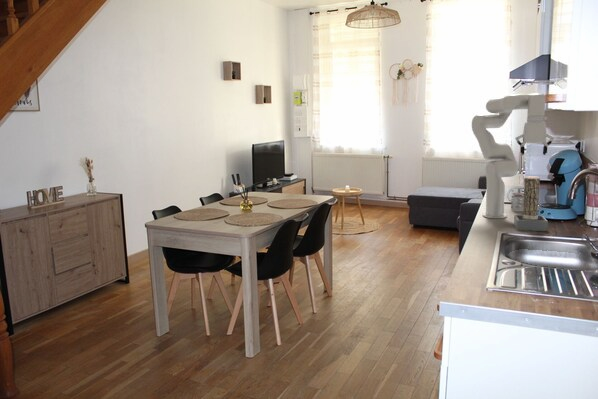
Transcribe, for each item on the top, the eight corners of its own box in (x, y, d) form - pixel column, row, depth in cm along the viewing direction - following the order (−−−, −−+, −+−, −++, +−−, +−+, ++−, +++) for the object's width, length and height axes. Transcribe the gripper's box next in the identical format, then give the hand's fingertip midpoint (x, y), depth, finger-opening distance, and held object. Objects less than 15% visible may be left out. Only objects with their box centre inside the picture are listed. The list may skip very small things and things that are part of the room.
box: (513, 224, 257) (514, 214, 256) (542, 225, 253) (543, 215, 252) (517, 230, 244) (517, 220, 244) (547, 231, 240) (547, 221, 239)
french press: (530, 211, 290) (532, 168, 285) (510, 211, 290) (512, 169, 286) (522, 208, 299) (524, 167, 295) (503, 208, 300) (505, 167, 295)
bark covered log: (538, 227, 245) (541, 177, 241) (524, 227, 246) (526, 177, 242) (535, 224, 251) (537, 176, 247) (521, 224, 253) (523, 176, 249)
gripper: (553, 119, 241) (551, 153, 244) (515, 119, 246) (513, 153, 249) (556, 119, 234) (554, 155, 237) (517, 120, 239) (515, 155, 242)
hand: (533, 154), depth 243 cm, fingers open, 9 cm apart
